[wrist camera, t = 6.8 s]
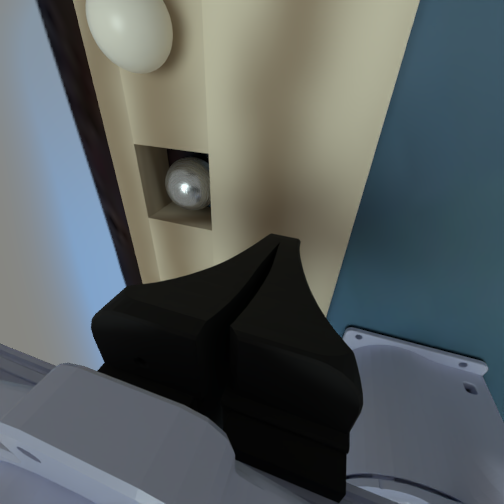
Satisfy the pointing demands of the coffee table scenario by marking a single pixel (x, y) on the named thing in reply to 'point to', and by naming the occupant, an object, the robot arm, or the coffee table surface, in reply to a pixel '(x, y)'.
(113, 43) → the cream plastic ball
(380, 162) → the coffee table surface
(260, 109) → the cream knobbed board
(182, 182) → the steel ball
